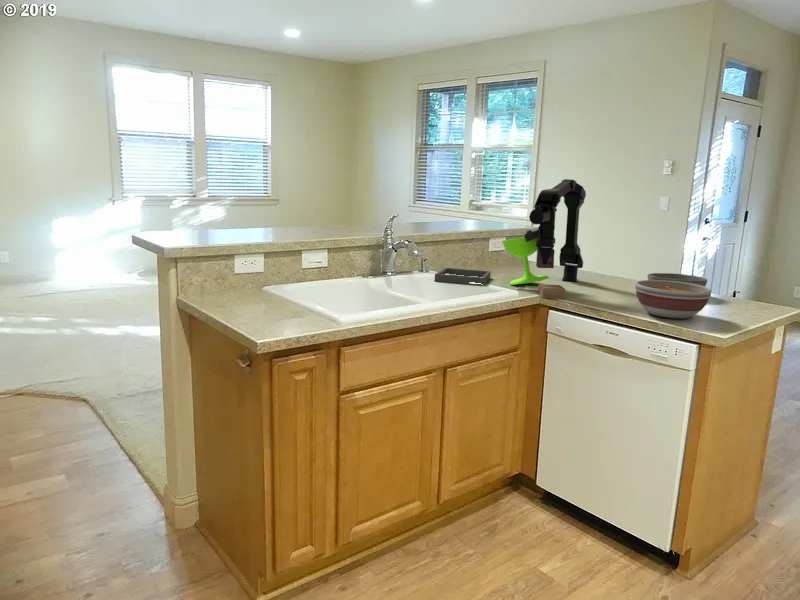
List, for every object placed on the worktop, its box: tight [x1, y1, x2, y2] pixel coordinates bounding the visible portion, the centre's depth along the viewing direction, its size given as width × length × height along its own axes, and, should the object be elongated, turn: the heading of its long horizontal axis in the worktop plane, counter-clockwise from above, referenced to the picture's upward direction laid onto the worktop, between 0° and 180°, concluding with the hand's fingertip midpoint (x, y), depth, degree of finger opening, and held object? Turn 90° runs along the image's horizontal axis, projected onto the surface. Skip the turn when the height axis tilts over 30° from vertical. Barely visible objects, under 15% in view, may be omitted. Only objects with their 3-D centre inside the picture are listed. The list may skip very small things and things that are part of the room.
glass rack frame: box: [434, 267, 492, 285], centre depth 255 cm, size 20×20×3 cm
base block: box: [537, 283, 566, 300], centre depth 226 cm, size 8×8×4 cm
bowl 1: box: [647, 272, 708, 287], centre depth 236 cm, size 21×21×8 cm
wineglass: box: [501, 236, 550, 286], centre depth 246 cm, size 16×16×18 cm
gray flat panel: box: [517, 284, 538, 293], centre depth 239 cm, size 10×14×1 cm
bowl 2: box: [635, 279, 712, 319], centre depth 200 cm, size 23×23×10 cm
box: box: [535, 248, 555, 269], centre depth 237 cm, size 6×6×7 cm
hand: (544, 263), depth 237 cm, fingers closed on box, 6 cm apart
